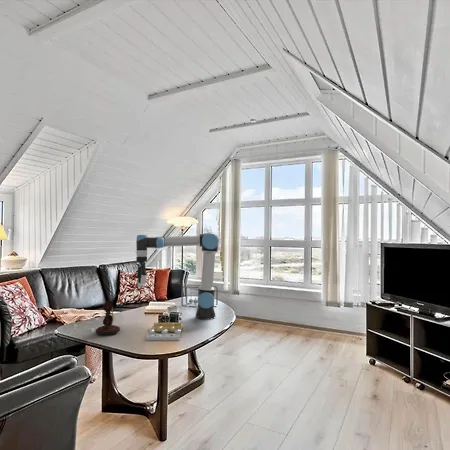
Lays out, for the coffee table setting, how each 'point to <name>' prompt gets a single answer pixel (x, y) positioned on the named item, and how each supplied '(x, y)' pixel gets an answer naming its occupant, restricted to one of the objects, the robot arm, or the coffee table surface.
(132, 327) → the coffee table surface
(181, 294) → the newton's cradle
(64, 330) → the coffee table surface
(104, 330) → the dark wooden figurine
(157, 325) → the brass leaf
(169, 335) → the steel leaf
